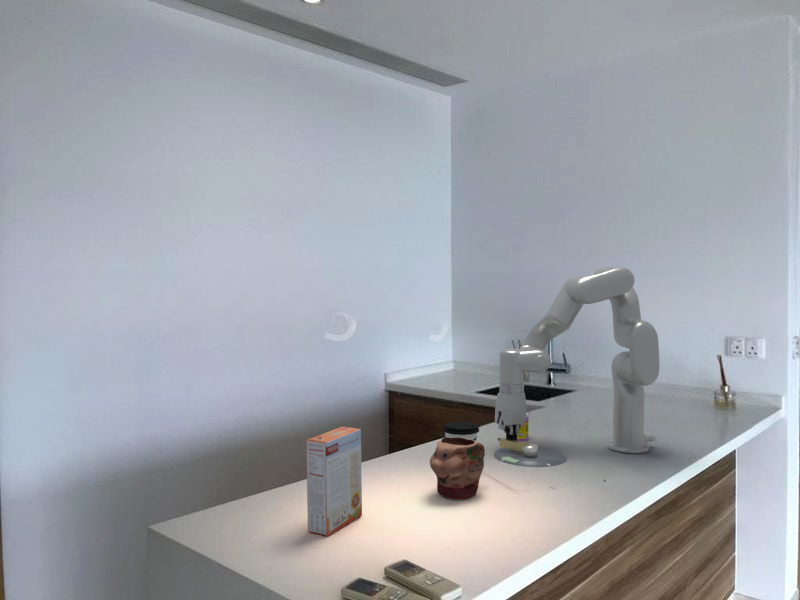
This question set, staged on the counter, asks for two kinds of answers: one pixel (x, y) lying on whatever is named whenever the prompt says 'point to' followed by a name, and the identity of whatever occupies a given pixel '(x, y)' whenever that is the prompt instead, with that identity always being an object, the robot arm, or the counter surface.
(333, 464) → the cracker box
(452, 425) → the coffee cup
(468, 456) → the decorative planter
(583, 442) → the counter surface
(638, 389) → the robot arm
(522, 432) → the supplement bottle
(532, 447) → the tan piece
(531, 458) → the dial
